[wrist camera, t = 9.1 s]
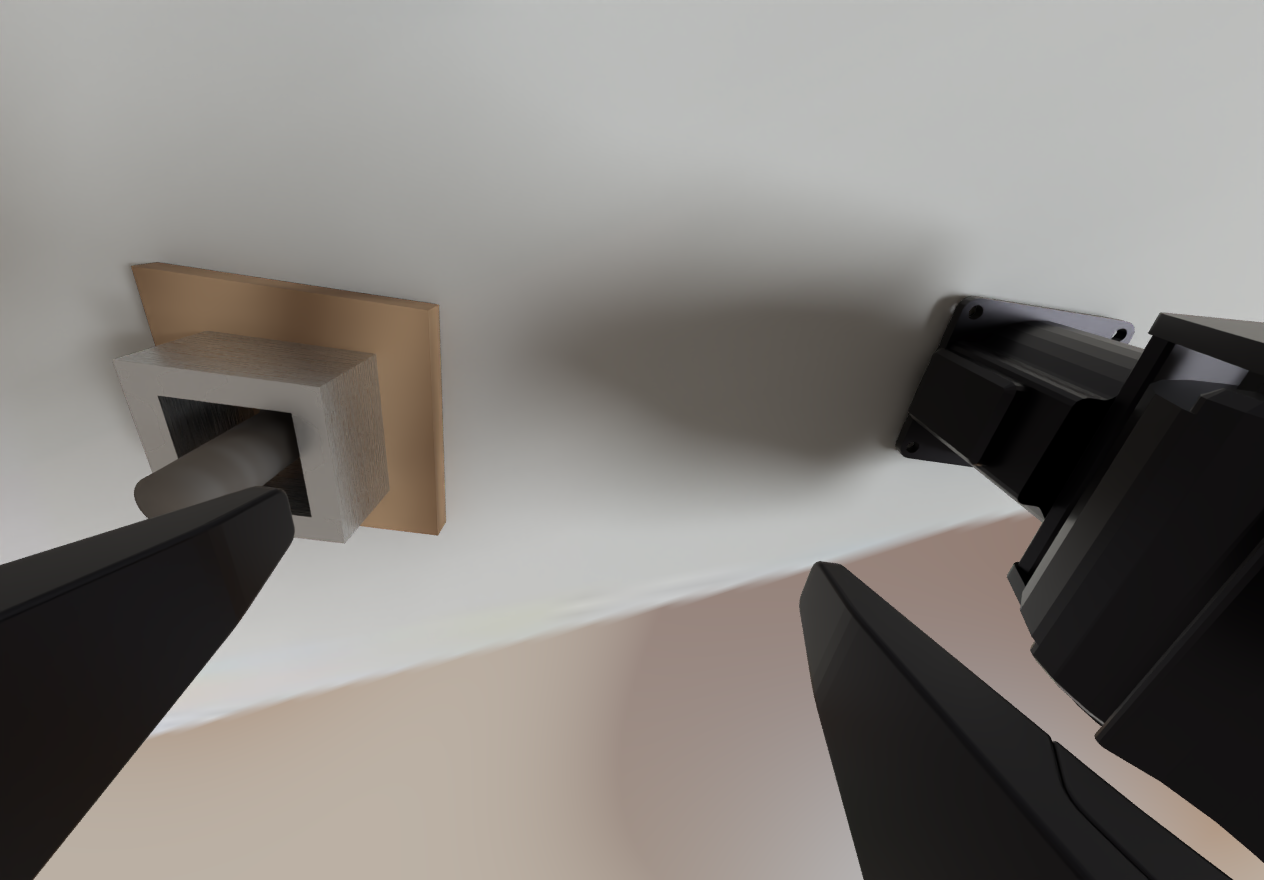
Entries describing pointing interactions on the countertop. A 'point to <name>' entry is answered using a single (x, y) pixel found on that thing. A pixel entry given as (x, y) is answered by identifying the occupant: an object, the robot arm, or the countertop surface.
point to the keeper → (269, 438)
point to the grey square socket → (280, 381)
